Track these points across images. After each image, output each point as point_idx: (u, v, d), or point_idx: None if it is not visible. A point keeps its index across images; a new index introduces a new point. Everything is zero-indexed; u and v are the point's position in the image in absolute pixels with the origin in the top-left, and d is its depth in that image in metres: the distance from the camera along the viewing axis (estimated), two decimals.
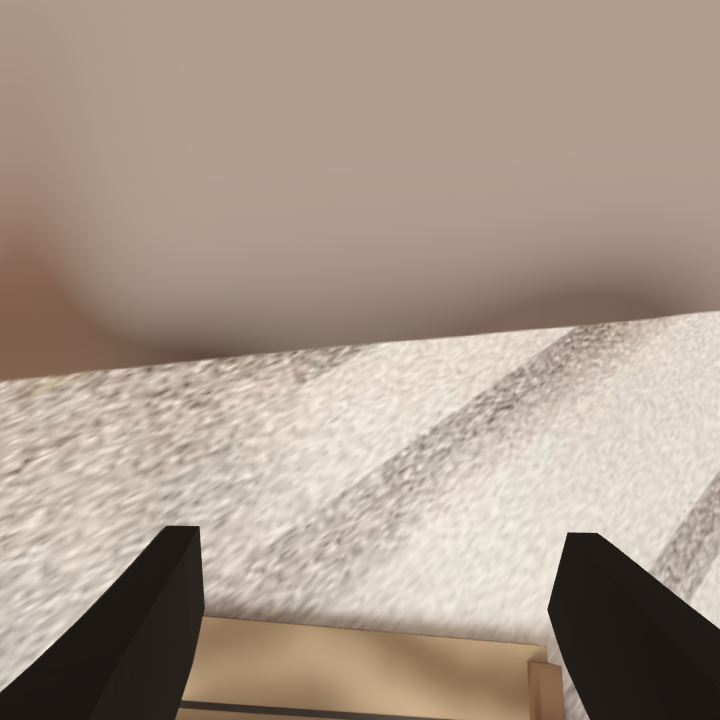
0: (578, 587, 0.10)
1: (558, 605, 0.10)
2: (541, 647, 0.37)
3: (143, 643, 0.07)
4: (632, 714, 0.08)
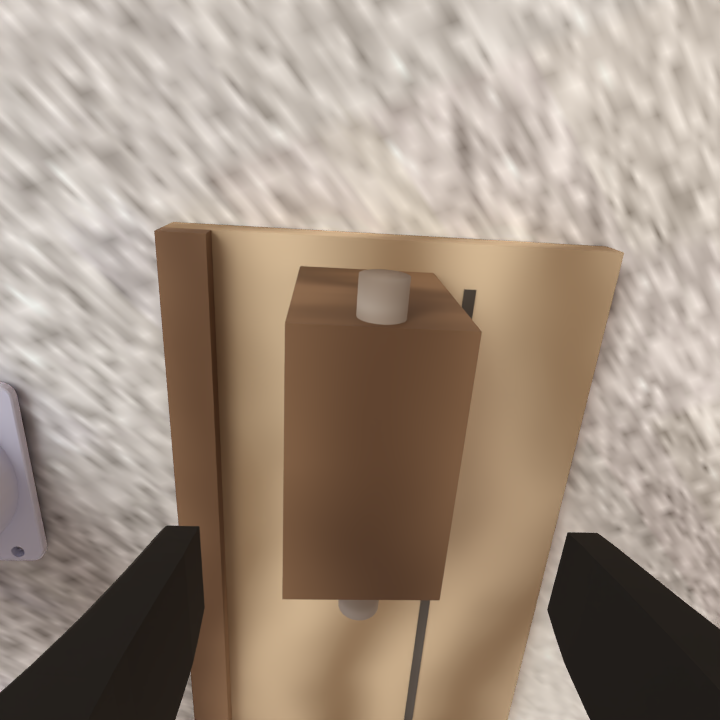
0: (578, 587, 0.10)
1: (558, 605, 0.10)
2: None
3: (143, 643, 0.07)
4: (632, 714, 0.08)
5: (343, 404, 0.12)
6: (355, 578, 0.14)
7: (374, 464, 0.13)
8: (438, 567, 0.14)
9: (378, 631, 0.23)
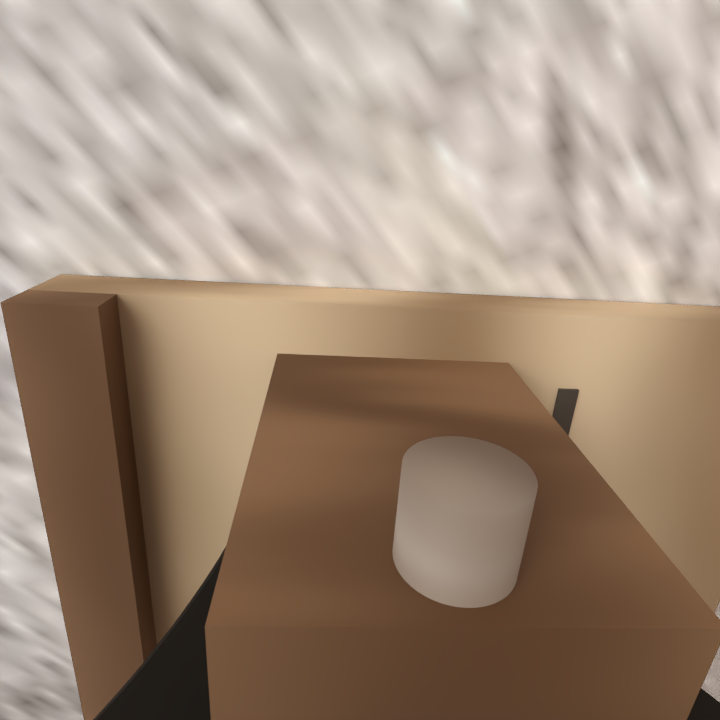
0: None
1: None
2: None
3: None
4: None
5: None
6: None
7: None
8: None
9: None
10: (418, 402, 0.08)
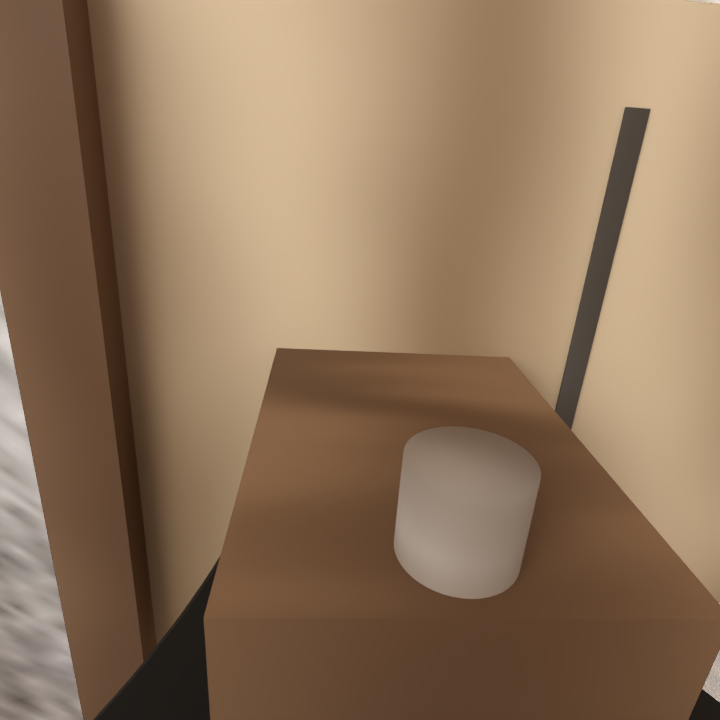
0: None
1: None
2: None
3: None
4: None
5: None
6: None
7: None
8: None
9: None
10: (419, 395, 0.08)
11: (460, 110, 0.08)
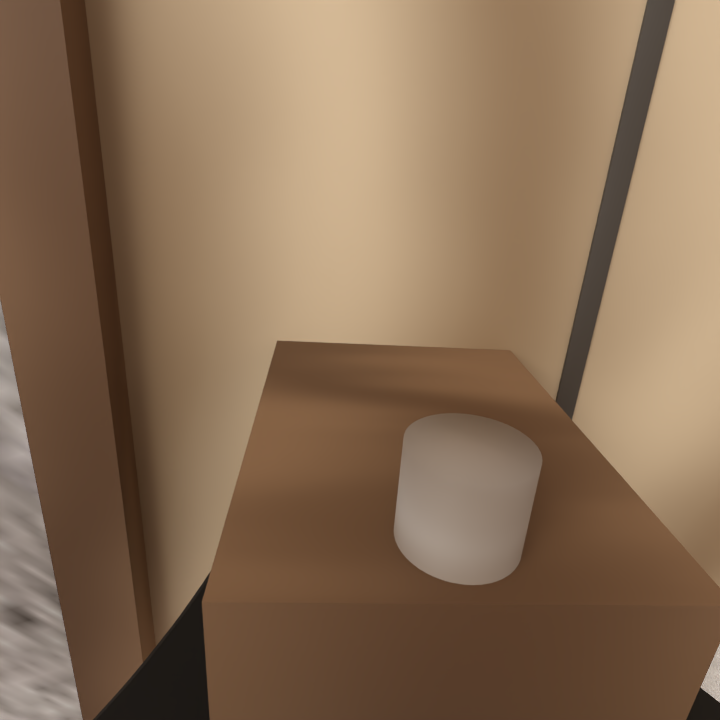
0: None
1: None
2: None
3: None
4: None
5: None
6: None
7: None
8: None
9: None
10: (419, 387, 0.08)
11: None
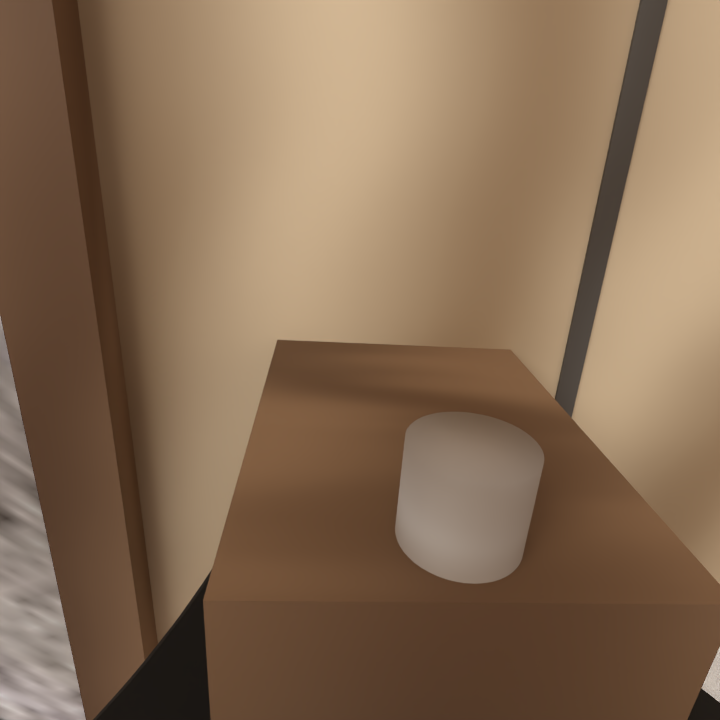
0: None
1: None
2: None
3: None
4: None
5: None
6: None
7: None
8: None
9: None
10: (420, 386, 0.08)
11: None
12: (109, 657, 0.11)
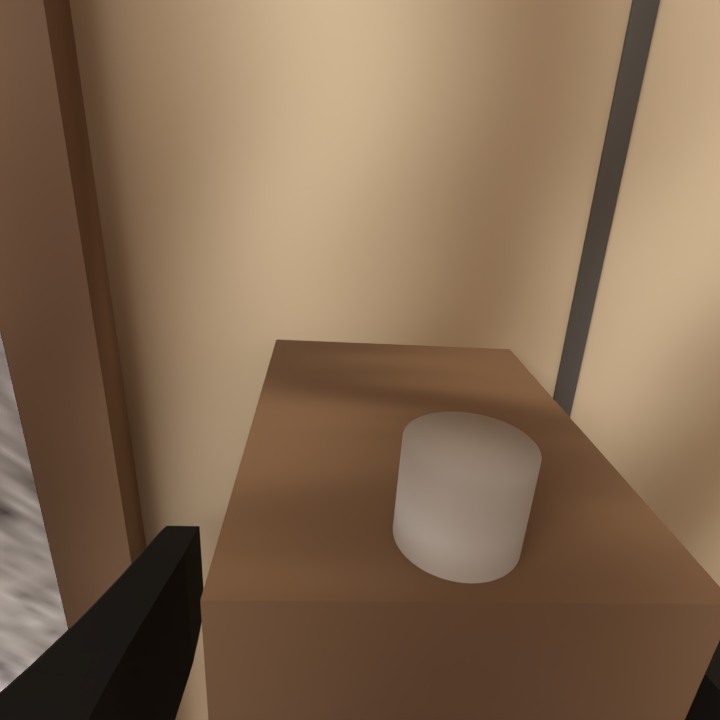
0: None
1: None
2: None
3: (143, 643, 0.07)
4: None
5: None
6: None
7: None
8: None
9: None
10: (418, 385, 0.08)
11: None
12: None
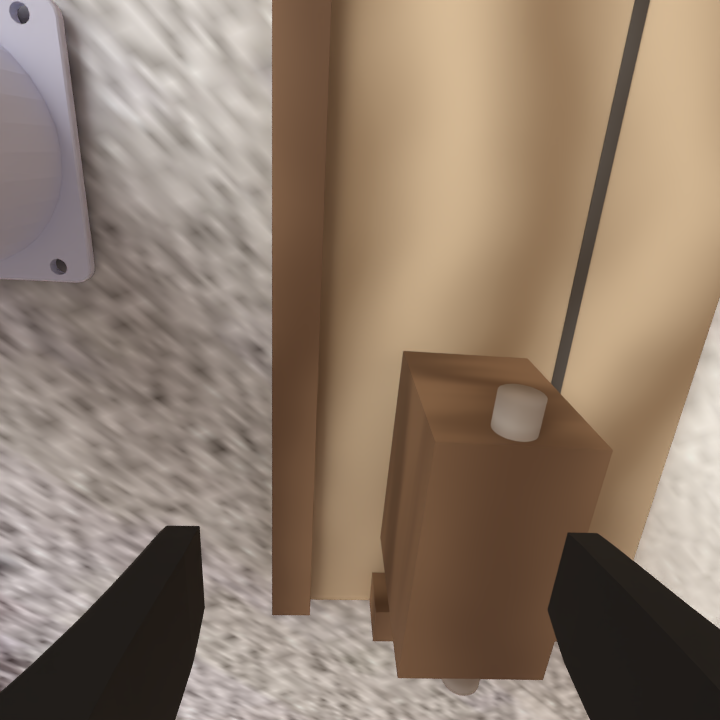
0: (578, 587, 0.10)
1: (558, 605, 0.10)
2: None
3: (143, 643, 0.07)
4: (632, 714, 0.08)
5: (478, 510, 0.13)
6: (467, 660, 0.15)
7: (499, 562, 0.14)
8: (545, 651, 0.15)
9: None
10: (485, 376, 0.16)
11: None
12: (292, 527, 0.19)
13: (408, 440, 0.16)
